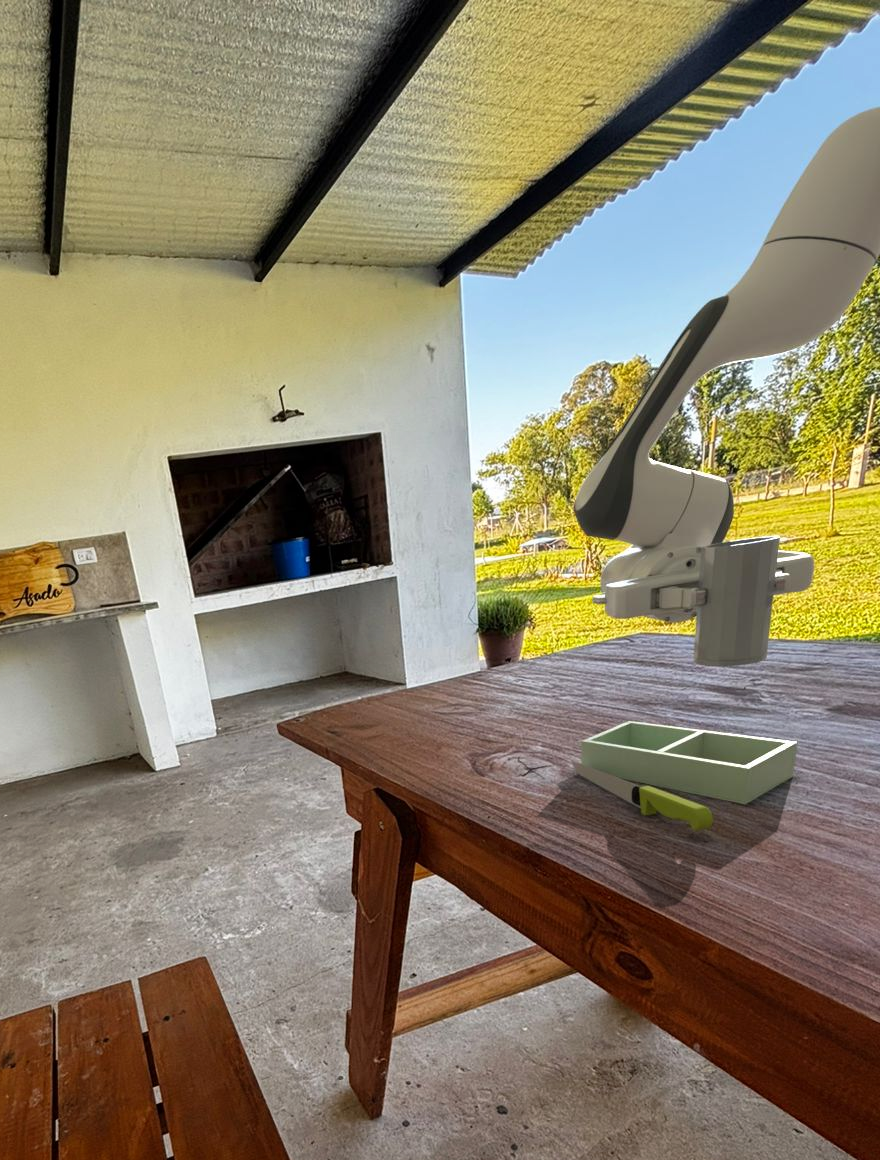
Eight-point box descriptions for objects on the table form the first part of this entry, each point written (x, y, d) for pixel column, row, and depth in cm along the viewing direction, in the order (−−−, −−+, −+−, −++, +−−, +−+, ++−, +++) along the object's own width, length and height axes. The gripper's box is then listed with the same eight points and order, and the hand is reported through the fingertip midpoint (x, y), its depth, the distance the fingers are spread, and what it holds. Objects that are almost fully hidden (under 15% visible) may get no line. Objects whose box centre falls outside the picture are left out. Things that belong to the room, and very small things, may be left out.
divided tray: (628, 751, 78) (629, 720, 77) (793, 779, 63) (798, 741, 62) (581, 773, 74) (581, 741, 73) (744, 808, 60) (748, 768, 58)
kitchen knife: (567, 783, 75) (566, 760, 74) (577, 781, 75) (576, 758, 74) (700, 843, 54) (700, 811, 53) (713, 840, 54) (714, 808, 53)
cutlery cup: (714, 652, 71) (722, 541, 66) (779, 654, 65) (793, 533, 61) (681, 664, 68) (688, 550, 64) (746, 667, 63) (758, 542, 58)
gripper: (587, 573, 77) (633, 577, 64) (768, 542, 73) (856, 540, 60) (586, 624, 79) (631, 638, 66) (763, 596, 75) (846, 605, 63)
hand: (740, 591), depth 63 cm, fingers closed on cutlery cup, 6 cm apart
